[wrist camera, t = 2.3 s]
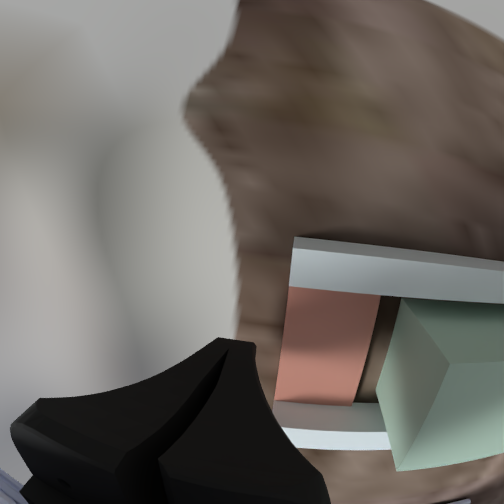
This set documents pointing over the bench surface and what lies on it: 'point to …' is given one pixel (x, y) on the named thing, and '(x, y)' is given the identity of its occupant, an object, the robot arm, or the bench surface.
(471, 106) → the bench surface
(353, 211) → the bench surface
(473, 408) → the block
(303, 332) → the channel
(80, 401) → the robot arm
